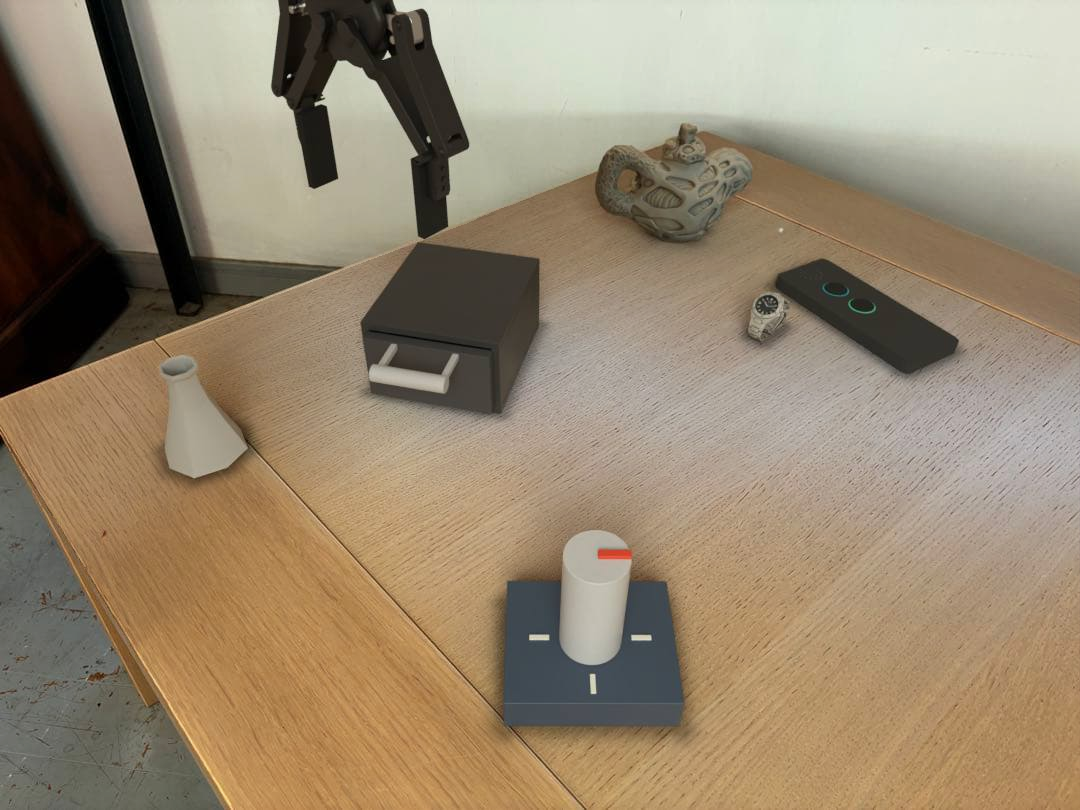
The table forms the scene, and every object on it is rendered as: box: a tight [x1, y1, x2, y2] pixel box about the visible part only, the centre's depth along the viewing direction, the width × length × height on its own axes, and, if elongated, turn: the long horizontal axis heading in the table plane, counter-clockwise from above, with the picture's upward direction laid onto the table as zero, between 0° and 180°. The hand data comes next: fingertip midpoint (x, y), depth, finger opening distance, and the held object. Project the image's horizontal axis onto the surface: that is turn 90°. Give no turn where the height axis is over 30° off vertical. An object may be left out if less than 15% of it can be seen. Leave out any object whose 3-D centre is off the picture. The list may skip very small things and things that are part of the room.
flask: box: [157, 353, 249, 479], centre depth 74 cm, size 7×7×10 cm
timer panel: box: [502, 580, 685, 727], centre depth 59 cm, size 12×10×3 cm
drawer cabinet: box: [359, 241, 541, 415], centre depth 85 cm, size 16×14×9 cm
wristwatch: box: [747, 290, 791, 343], centre depth 90 cm, size 4×6×5 cm, turn 137°
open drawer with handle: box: [361, 331, 495, 415], centre depth 82 cm, size 20×12×7 cm, turn 166°
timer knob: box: [559, 529, 633, 665], centre depth 55 cm, size 4×4×9 cm
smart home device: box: [775, 258, 960, 375], centre depth 94 cm, size 8×2×20 cm
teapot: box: [594, 122, 754, 243], centre depth 104 cm, size 21×12×15 cm, turn 108°
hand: (376, 206), depth 70 cm, fingers open, 13 cm apart
